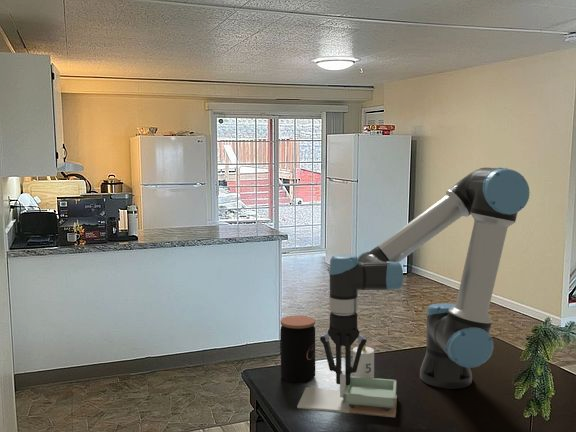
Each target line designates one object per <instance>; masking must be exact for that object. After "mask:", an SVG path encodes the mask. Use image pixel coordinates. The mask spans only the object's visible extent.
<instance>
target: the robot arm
mask: <svg viewBox="0 0 576 432" xmlns="http://www.w3.org/2000/svg"><path fill="white" fill-rule="evenodd" d="M530 193H531V192H530V187H529V183H528V181H527V179H526V178H525V176H523V175H522V174H521V173H520V172H518V171H517V170H514V169H510V168H508V167H481V168H478V169H476V170H474V171H472V172H470V173H469V174H467V175H466V176H464V177H463V178H462V179H459V181H458V182H457V183H455V184H454V185H452V186H451V187H449V189H447V190H446V192H445V196H444V197H442V198H440V199H439V200H437V202H435V203H434V204H432V205H431V206H429V207H428V208H427V209H426V210H424V211H423V212H421V213H420V214H419V215H418V216H416V217H415V218H414V219H412V220H410V221H409V222H408V223H407V224H406V225H404V226H402V227H401V228H400V229H398V230H397V231H396V232H394V233H393V234H392V235H391V236H389V237H388V238H387V239H385V240H384V241H382V242H381V243H379V244H378V245H377V246H375V247H374V248H373V249H371V250H370V251H363V252H362V253H360V254H359V255H358V256H356V255H354V254H349V253H348V254H347V253H346V254H345V253H344V254H343V253H342V254H341V253H339V254H335V255H332V256H331V258H330V260H329V272H328V273H329V328H328V329H327V332H325V333H322V334H321V335H320V337H319V340H320V342H321V343H322V345H323V348H324V353H325V356H326V361H327V366H328V369H329V371H331V372H335V374H336V375H335V378H336V379H335V382H336V383H335V384H336V385H339V390H340V397H342V398H343V393H344V390H345V387H346V385H350V382H351V376H352V375H351V374H353V372H354V373H355V372H356V371H357V367H358V363H359V360H360V356H361V352H362V348H363V346H364V345H365V344H366V343H367V341H368V338H367V336H364V337H363V336H362V334H360V330H359V328H358V302H359V301H358V300H359V299H358V292H359V291H391V290H393V291H394V290H399V289H401V288H402V286H403V282H404V270H403V267H402V264H401V263H400V262H401V261H402V260H404V259H405V258H407V257H408V256H409V255H411V254H412V253H413V252H415V251H416V250H418V249H419V248H420V247H422V246H423V245H424V244H426V243H427V242H429V241H430V240H431V239H433V238H434V237H436V236H437V235H438V234H440V233H441V232H443V231H444V230H446V228H448V227H449V226H450V225H452V224H453V223H455V222H456V221H457V220H459V219H460V218H462V217H467V218H468V217H469V216H470V215H471V217H472V218H473V219H474V220H473V222H474V223H473V227H472V231H471V233H470V234H471V236H470V239H469V245H468V249H467V254H466V257H465V262H464V266H463V271H462V275H461V279H460V282H459V283H460V284H459V289H458V293H457V296H456V302H455V303H445V302H443V303H442V302H441V303H432V304H430V305H428V307H427V311H426V313H427V314H425V315H426V350H425V351H426V352H425V356H424V358H423V361H422V362H421V363H422V364H421V366H420V370H419V378H420V380H421V381H422V382H423V383H425V384H427V385H429V386H432V387H435V388H440V389H449V390H456V389H463V388H468V387H469V386H471V385H472V383H473V381H472V380H473V375H472V374H473V373H472V371H471V368H472V369H473V368H478V367H480V366H482V365H483V364H485V363H486V362H487V361H488V360H489V359H490V357H491V356H492V354H493V352H494V340H493V339H492V336H491V334H490V331H491V327H492V323H493V320H492V318H491V316H490V315H489V309H490V305H491V301H492V296H493V292H494V287H495V283H496V279H497V275H498V271H499V267H500V263H501V258H502V254H503V249H504V245H505V241H506V236H507V232H508V228H509V227H511V226H512V225H514V224H516V221H517V216H518V212H520V211H522V209H524V208H525V207H526V205H527V203H528V202H529V199H530ZM330 339H331V340H332V342H333V343H334V344H335V360H334V356H333V355H334V354H333V352H332V348H331V344H330ZM356 340H357V343H358V346H357V347H358V349H357V353H356V357H355V361H354V364H353V363H352V345H353V344H354V343H355V341H356ZM366 345H367V344H366ZM342 347H344V351H345V353H344V354H345V361H344V362H345V366H344V367H345V368H344V369H345V370H342V368H343V367H342V360H343V359H342V357H343V356H342V352H343V351H342Z"/></svg>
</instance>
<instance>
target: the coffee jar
mask: <svg viewBox="0 0 576 432" xmlns="http://www.w3.org/2000/svg"><path fill="white" fill-rule="evenodd" d="M315 324H316V319H315V318H313V317H311V316H308V315H289V316H285V317H282V318H281V319H280V325H281V327H280V376H281V378H282V379H283V380H284V381H285V382H287V383H290V384H307V383H309V381H310V382H312V381H313V380H314V378H315V376H316V327H315Z"/></svg>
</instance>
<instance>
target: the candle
mask: <svg viewBox="0 0 576 432" xmlns="http://www.w3.org/2000/svg"><path fill="white" fill-rule="evenodd" d="M361 335H362V336H363V337H365V336H364V334H361ZM366 345H367V344H365V345H364V346H363V348H362V352H361V356H360V360H359V363H358V367H357V371H356V372H355V373H354V372H353V373H352V376H354V377H367V378H375V349H374V348H373V347H370V346H366ZM357 349H358V346H355V347H353V348H352V365H353V364H354V361H355V357H356V353H357Z"/></svg>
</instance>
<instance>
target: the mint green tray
mask: <svg viewBox="0 0 576 432" xmlns="http://www.w3.org/2000/svg"><path fill="white" fill-rule="evenodd" d="M396 395H397V379H391V378H390V379H388V378H378V377H377V378H376V377H374V378H367V377H354V376H353V375H351V382H350V385H346V387H345V390H344V393H343V403H344V404H349V406H350V407H351V408H354V407H355V406H356V405H365V406H376V407H383V409H384V410H385V411H389V410H390V408H395V401H396Z"/></svg>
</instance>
